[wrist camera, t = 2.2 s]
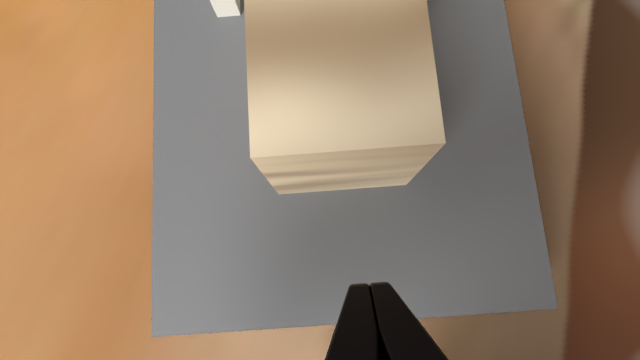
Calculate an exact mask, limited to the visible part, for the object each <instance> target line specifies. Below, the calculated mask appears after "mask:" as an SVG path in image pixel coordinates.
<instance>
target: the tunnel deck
mask: <svg viewBox="0 0 640 360" xmlns="http://www.w3.org/2000/svg"><path fill="white" fill-rule="evenodd" d="M427 7H428V14H429V22H430V29H431V36H432V44H433V51H434V59H435V66H436V74H437V81H438V89H439V96H440V103H441V111H442V118H443V126H444V133H445V141H446V144H445V145H444V146H443V147H442V148H441V149H440V150H439V151H438V152H437V153H436V154H435V155H434V156H433V157H432V158H431V159H430V160H429V162H428V163H427V164H426V165H425V166H424V167H423V168H422V169H421V170H420V171H419V172H418V173H417V174H416V175H415V176H414V177H413V178H412V179H411V180H410V182H409V183H408V184H407V185H400V186H387V187H373V188H360V189H346V190H333V191H319V192H306V193H292V194H278V193H277V192H276V190H275V189H274V188H273V186H272V185H271V184H270V183H269V181H268V180H267V179H266V178H265V176H264V175H263V174H262V172H261V171H260V170H259V169H258V167H257V166H256V165H255V164H254V162H253V161H252V160H251V158H250V141H249V115H248V89H247V63H246V37H245V11H244V0H154V102H153V222H152V337H161V336H175V335H190V334H204V333H218V332H233V331H247V330H262V329H276V328H290V327H305V326H319V325H334V324H337V321H338V318H339V315H340V312H341V309H342V306H343V303H344V300H345V296H346V293H347V290H348V287H349V286H350V285H351V284H359V283H367V284H368V285H370V284H371V283H373V282H388V283H390V284H391V285H392V287H393V288H394V289H395V291H396V292H397V293H398V295H399V296H400V297H401V298H402V300H403V301H404V302H405V304H406V305H407V306H408V308H409V309H410V310H411V312H412V313H413V314H414V315H415V317H416V318H417V319H420V318H434V317H449V316H463V315H478V314H492V313H506V312H521V311H535V310H550V309H558V306H557V301H556V295H555V289H554V284H553V278H552V272H551V266H550V261H549V255H548V249H547V243H546V238H545V232H544V226H543V221H542V215H541V209H540V203H539V198H538V192H537V186H536V180H535V175H534V169H533V163H532V158H531V152H530V146H529V140H528V135H527V129H526V123H525V118H524V112H523V106H522V100H521V95H520V89H519V83H518V77H517V72H516V66H515V60H514V55H513V49H512V43H511V37H510V32H509V26H508V20H507V14H506V9H505V3H504V0H427Z"/></svg>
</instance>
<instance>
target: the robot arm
mask: <svg viewBox="0 0 640 360" xmlns="http://www.w3.org/2000/svg"><path fill="white" fill-rule="evenodd" d="M325 360H448V359H447V357H446V356H445V355H444V353H443V352H442V351H441V349H440V348H439V347H438V345H437V344H436V343H435V342H434V340H433V339H432V338H431V336H430V335H429V334H428V332H427V331H426V330H425V329H424V327H423V326H422V325H421V323H420V322H419V321H418V319H417V318H416V317H415V315H414V314H413V313H412V312H411V310H410V309H409V308H408V306H407V305H406V304H405V302H404V301H403V300H402V298H401V297H400V296H399V295H398V293H397V292H396V291H395V289H394V288H393V287H392V285H391V284H390V283H388V282H373V283H371V284H370V285H368V284H367V283H359V284H351V285H350V286H349V287H348V290H347V293H346V296H345V300H344V303H343V306H342V309H341V312H340V315H339V318H338V321H337V324H336V327H335V330H334V333H333V336H332V340H331V343H330V346H329V349H328V352H327V355H326V358H325Z"/></svg>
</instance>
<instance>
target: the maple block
mask: <svg viewBox="0 0 640 360" xmlns="http://www.w3.org/2000/svg"><path fill="white" fill-rule="evenodd" d="M244 11H245V37H246V63H247V89H248V115H249V141H250V158H251V160H252V161H253V162H254V164H255V165H256V166H257V167H258V169H259V170H260V171H261V172H262V174H263V175H264V176H265V178H266V179H267V180H268V181H269V183H270V184H271V185H272V186H273V188H274V189H275V190H276V192H277V193H278V194H292V193H306V192H319V191H333V190H346V189H360V188H373V187H387V186H400V185H407V184H408V183H409V182H410V180H411V179H412V178H413V177H414V176H415V175H416V174H417V173H418V172H419V171H420V170H421V169H422V168H423V167H424V166H425V165H426V164H427V163H428V162H429V160H430V159H431V158H432V157H433V156H434V155H435V154H436V153H437V152H438V151H439V150H440V149H441V148H442V147H443V146H444V145H445V144H446V141H445V133H444V126H443V118H442V111H441V103H440V96H439V89H438V81H437V74H436V66H435V59H434V51H433V44H432V36H431V29H430V22H429V14H428V7H427V0H244Z"/></svg>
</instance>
